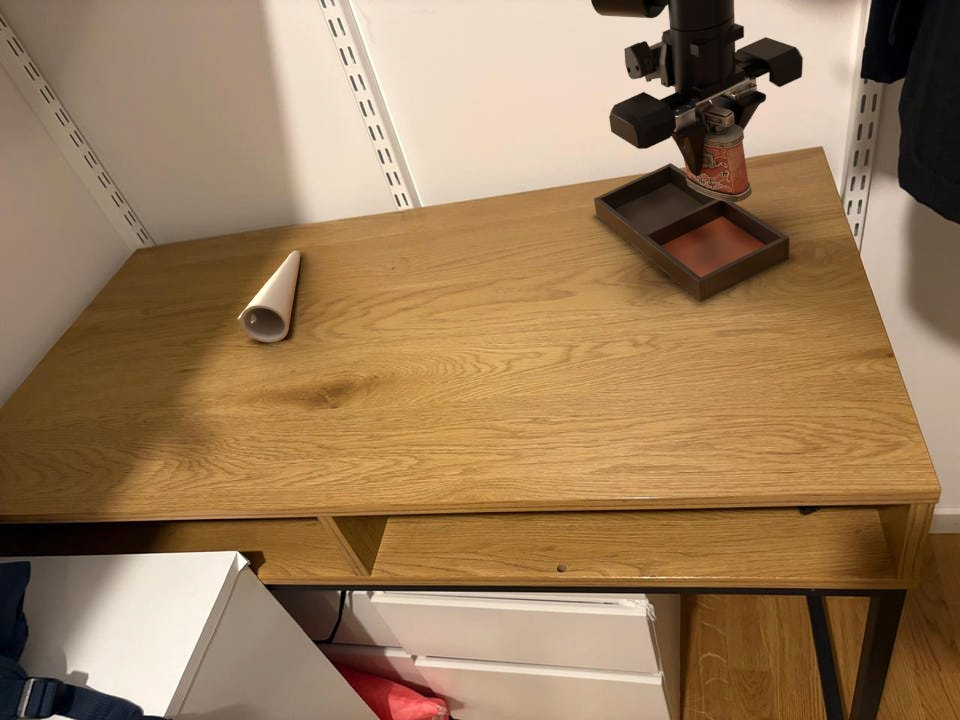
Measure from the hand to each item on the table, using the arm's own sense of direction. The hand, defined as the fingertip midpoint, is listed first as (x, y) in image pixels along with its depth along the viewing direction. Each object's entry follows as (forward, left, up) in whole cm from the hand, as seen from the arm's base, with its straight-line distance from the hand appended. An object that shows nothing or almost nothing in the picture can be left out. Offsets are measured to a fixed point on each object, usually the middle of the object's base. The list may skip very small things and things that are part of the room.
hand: (709, 168), depth 78 cm
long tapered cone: (+46, -31, -12) cm, 56 cm away
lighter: (-1, 0, -3) cm, 3 cm away
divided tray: (0, -6, -12) cm, 13 cm away
